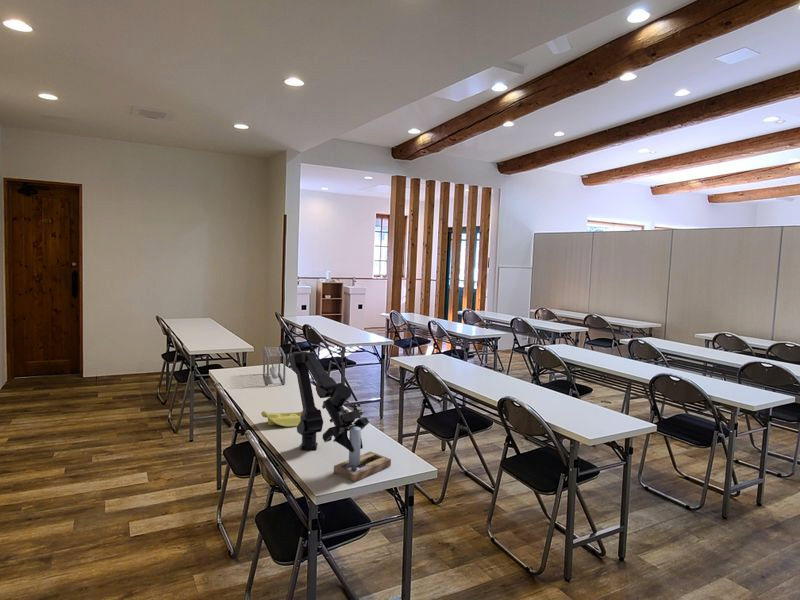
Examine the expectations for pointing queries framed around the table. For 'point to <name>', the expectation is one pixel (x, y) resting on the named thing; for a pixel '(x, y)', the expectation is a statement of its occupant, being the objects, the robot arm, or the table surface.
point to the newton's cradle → (273, 369)
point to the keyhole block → (372, 467)
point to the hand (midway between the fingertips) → (357, 450)
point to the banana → (283, 418)
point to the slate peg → (355, 448)
